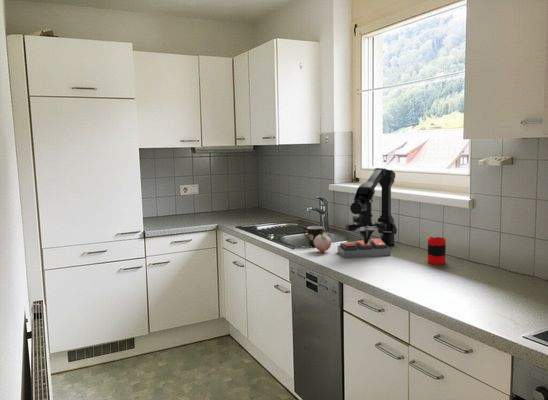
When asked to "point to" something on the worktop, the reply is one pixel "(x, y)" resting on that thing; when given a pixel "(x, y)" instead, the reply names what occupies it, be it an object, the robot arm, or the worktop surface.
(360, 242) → the middle rocker
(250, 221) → the worktop surface
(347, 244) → the rocker
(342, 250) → the power strip
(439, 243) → the soda can
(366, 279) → the worktop surface
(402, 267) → the worktop surface
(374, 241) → the rocker
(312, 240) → the coffee mug
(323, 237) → the decorative fruit
